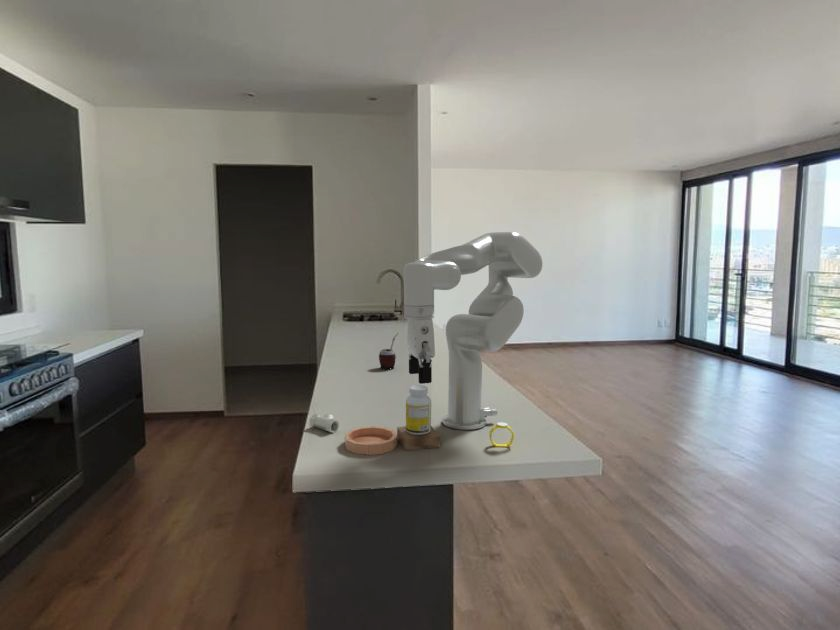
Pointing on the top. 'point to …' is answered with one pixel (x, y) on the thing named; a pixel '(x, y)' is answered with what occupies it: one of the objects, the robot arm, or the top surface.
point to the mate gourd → (387, 357)
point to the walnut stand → (418, 439)
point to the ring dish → (370, 440)
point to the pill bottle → (418, 411)
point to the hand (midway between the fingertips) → (419, 378)
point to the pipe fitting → (324, 423)
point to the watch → (501, 425)
